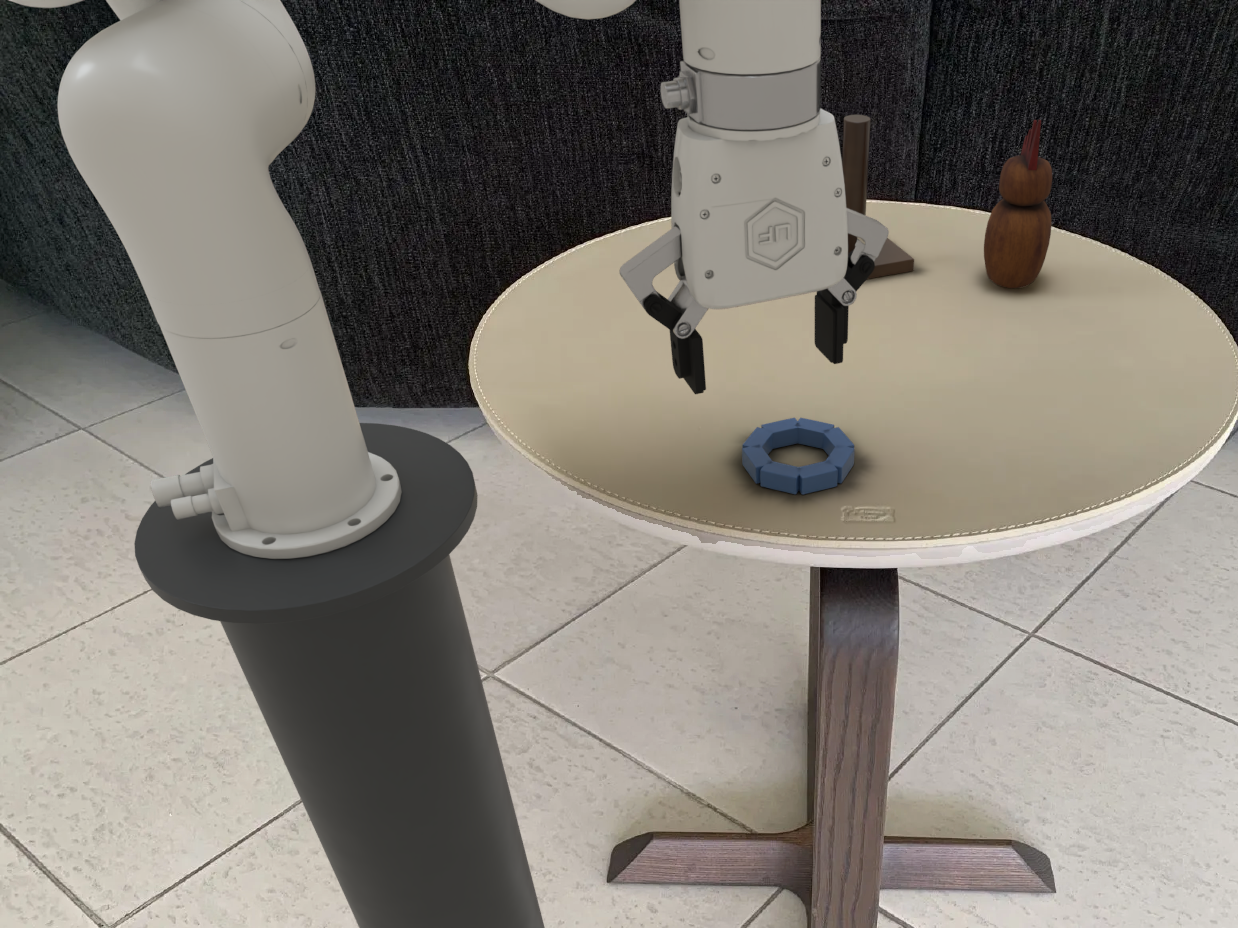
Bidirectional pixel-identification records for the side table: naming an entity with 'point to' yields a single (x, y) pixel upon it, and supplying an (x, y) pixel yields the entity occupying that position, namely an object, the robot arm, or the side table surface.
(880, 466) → the side table surface
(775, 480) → the ring
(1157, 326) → the side table surface
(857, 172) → the post
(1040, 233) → the wooden figurine
